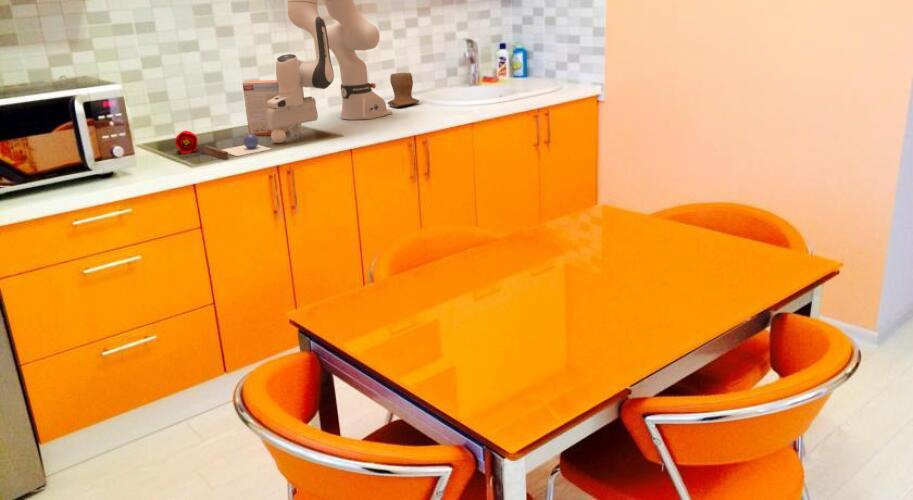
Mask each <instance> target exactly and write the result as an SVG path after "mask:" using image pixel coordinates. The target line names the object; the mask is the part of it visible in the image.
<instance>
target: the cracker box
mask: <svg viewBox="0 0 913 500" xmlns="http://www.w3.org/2000/svg"><path fill="white" fill-rule="evenodd" d="M278 89H279V85H278V82H277V79H267V80H265V79H263V80H247V81H246V80H245V82H242V91H243V97H244V105H245V112H246V113H245V114H246V122H247V127H248V134H254V135H256V136H271V133H272V131H273V130H274V129H277V128H271V127H269V126H268V123H267V110H268V108H269V106H268V105H267V101H269V100H270V99H272V98H274V97H276V96H277V95H278ZM278 128H279V129H282V130H284V132H285V133H286V134H287V132H288V129H287V126H283V127H278Z"/></svg>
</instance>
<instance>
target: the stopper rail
mask: <svg viewBox="0 0 913 500" xmlns="http://www.w3.org/2000/svg"><path fill="white" fill-rule="evenodd" d="M203 151H204V152H203V153H204V154H206V155H209V156H213V157H216V158H218V159H222V160H225V161H226V160H229V159H230V157H229V154H228V152H226V151H223V150H222V149H220V148H216V147H214V146H210V145H203Z"/></svg>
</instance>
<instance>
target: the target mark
mask: <svg viewBox="0 0 913 500" xmlns="http://www.w3.org/2000/svg"><path fill="white" fill-rule="evenodd" d="M221 150H223V151H226V152H228V155H231V156H234V157H241V156H247V155H250V154H256V153H261V152H266V151H270V150H272V148H271V147H267V146H264V145H260V144H258V146H257V147H256V148H254V149H249V148H247V147H245V145H244V144H243V145H239V146H233V147H227V148H224V149H223V148H222V149H221Z"/></svg>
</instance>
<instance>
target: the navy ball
mask: <svg viewBox="0 0 913 500" xmlns="http://www.w3.org/2000/svg"><path fill="white" fill-rule="evenodd" d="M242 143H243V145H245V147H247V148H249V149H254V148H256V147H257V146H258V145H259V143H260V141H259V138H258V135H254V134H249V133H248V134H246V135H245V136H244V137H243V140H242Z"/></svg>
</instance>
